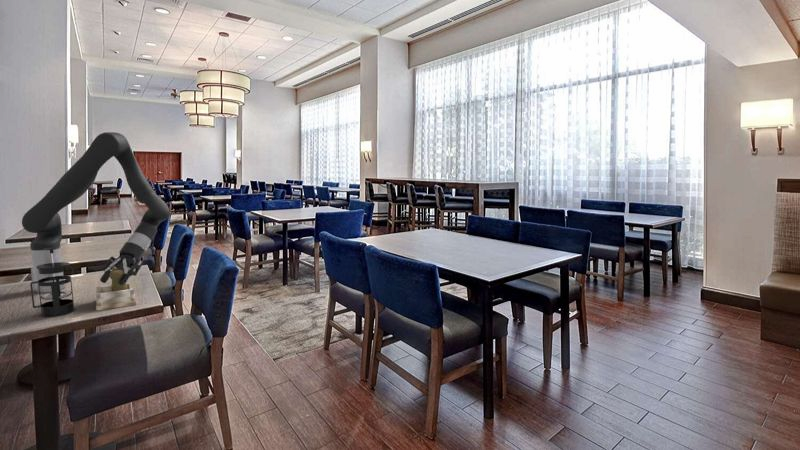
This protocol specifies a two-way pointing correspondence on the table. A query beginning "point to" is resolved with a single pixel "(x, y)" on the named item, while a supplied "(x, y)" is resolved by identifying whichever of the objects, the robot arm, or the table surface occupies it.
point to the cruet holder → (114, 297)
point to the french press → (54, 289)
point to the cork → (115, 278)
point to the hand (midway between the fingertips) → (111, 283)
